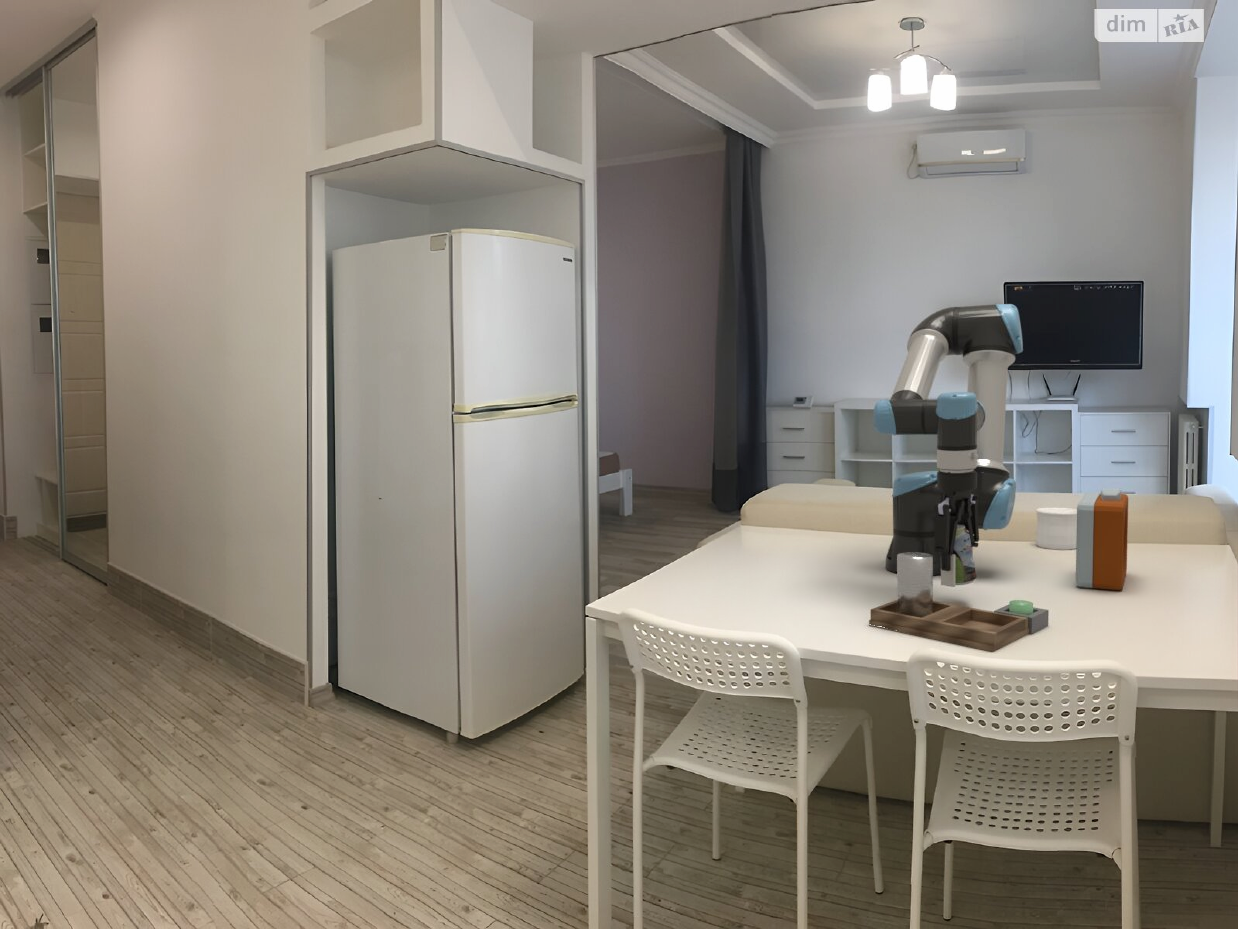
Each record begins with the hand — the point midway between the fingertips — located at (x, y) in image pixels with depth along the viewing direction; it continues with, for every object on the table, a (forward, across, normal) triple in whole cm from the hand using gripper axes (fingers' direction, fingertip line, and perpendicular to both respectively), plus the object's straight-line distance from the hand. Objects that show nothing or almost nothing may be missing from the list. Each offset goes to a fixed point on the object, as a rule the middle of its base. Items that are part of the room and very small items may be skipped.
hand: (957, 581), depth 182 cm
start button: (+5, -7, -16) cm, 19 cm away
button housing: (+4, -7, -16) cm, 18 cm away
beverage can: (+1, 0, 0) cm, 1 cm away
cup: (+7, +68, +8) cm, 69 cm away
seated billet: (+3, -18, -1) cm, 18 cm away
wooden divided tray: (+4, -18, -7) cm, 20 cm away
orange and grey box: (+6, +37, -14) cm, 40 cm away
